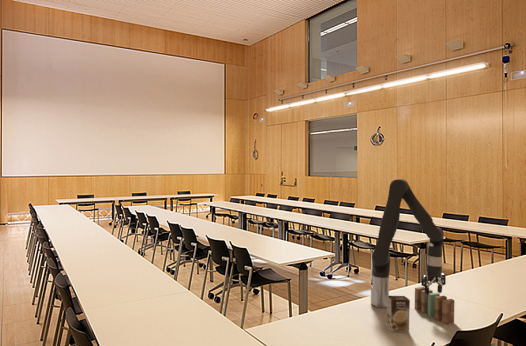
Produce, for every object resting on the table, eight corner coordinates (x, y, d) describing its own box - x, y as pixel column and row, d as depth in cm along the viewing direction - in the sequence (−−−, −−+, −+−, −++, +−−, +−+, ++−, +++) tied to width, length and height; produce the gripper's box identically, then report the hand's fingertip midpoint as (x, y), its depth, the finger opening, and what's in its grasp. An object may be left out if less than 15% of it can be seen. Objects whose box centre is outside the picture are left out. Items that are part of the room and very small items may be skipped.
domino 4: (437, 320, 195) (437, 298, 195) (434, 319, 197) (435, 296, 196) (446, 319, 197) (446, 296, 196) (443, 317, 199) (443, 295, 198)
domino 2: (423, 313, 204) (423, 291, 204) (421, 312, 206) (421, 290, 206) (432, 312, 206) (432, 290, 206) (429, 310, 208) (429, 289, 208)
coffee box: (391, 332, 181) (391, 300, 180) (386, 326, 187) (386, 295, 187) (409, 332, 181) (410, 299, 181) (404, 326, 188) (404, 295, 187)
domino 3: (430, 316, 200) (430, 294, 199) (427, 315, 202) (428, 293, 201) (439, 315, 201) (439, 293, 201) (436, 314, 203) (436, 292, 203)
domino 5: (445, 324, 190) (445, 301, 190) (442, 322, 192) (442, 300, 192) (454, 322, 192) (454, 300, 192) (451, 321, 194) (451, 298, 194)
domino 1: (417, 309, 209) (417, 289, 209) (414, 308, 211) (414, 287, 211) (425, 308, 211) (425, 287, 211) (423, 307, 213) (423, 286, 213)
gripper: (439, 261, 206) (438, 289, 207) (418, 262, 202) (417, 292, 202) (450, 265, 199) (448, 294, 200) (429, 266, 195) (427, 297, 195)
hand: (433, 293), depth 201 cm, fingers open, 8 cm apart
